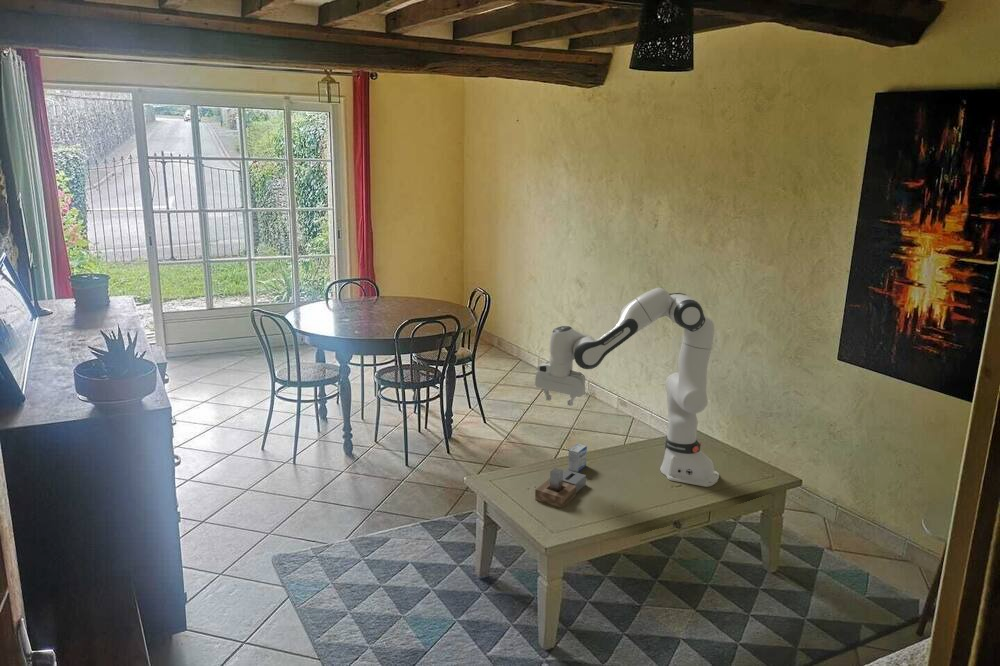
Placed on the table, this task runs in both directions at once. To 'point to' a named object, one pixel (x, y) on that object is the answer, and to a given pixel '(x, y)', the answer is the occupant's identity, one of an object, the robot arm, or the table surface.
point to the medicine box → (577, 457)
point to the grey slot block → (574, 479)
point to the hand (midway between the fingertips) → (559, 402)
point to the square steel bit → (556, 480)
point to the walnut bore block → (555, 494)
